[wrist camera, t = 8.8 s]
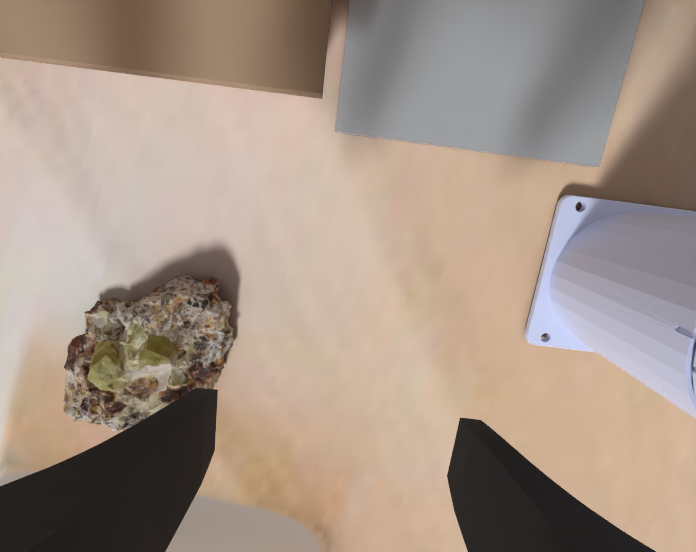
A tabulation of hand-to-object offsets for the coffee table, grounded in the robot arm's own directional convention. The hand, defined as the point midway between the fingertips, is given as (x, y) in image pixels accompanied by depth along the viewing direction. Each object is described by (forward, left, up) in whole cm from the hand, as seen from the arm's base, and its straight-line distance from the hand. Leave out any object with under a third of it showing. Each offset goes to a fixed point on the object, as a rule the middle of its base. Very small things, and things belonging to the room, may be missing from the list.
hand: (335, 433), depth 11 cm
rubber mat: (-5, -16, -10) cm, 19 cm away
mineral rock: (+10, +3, -10) cm, 15 cm away
